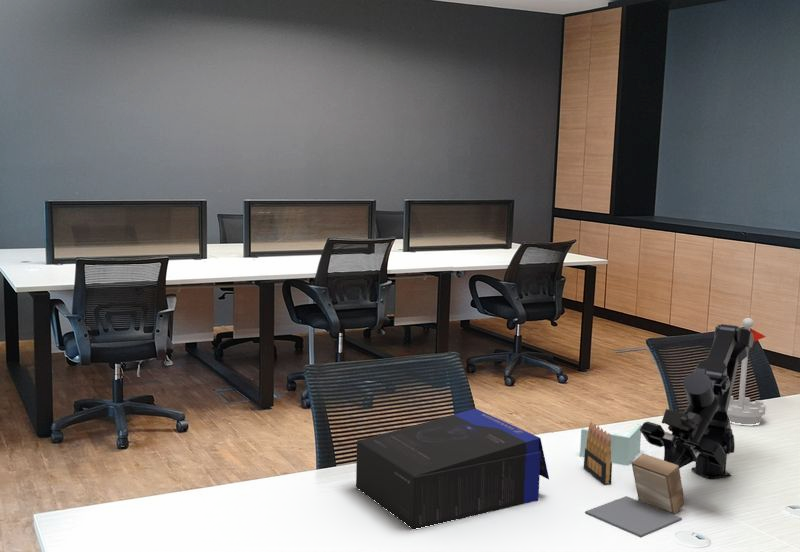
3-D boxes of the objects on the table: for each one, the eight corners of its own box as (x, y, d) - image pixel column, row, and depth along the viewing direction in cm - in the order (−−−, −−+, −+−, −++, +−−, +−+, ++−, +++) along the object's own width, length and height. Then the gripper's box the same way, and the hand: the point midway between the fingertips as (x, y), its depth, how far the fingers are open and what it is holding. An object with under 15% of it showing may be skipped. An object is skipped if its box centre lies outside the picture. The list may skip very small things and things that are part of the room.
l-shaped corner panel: (639, 453, 220) (641, 424, 219) (627, 467, 210) (629, 437, 209) (593, 444, 226) (595, 416, 225) (579, 458, 215) (581, 429, 214)
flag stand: (720, 425, 243) (729, 321, 239) (711, 411, 256) (719, 312, 251) (769, 428, 241) (778, 323, 237) (758, 415, 254) (766, 315, 249)
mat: (626, 497, 190) (626, 496, 190) (681, 519, 179) (681, 517, 179) (585, 513, 181) (585, 511, 181) (640, 537, 170) (640, 535, 170)
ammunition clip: (611, 484, 197) (614, 434, 196) (604, 485, 197) (607, 434, 195) (590, 467, 208) (593, 419, 206) (583, 468, 207) (585, 420, 205)
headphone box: (549, 498, 189) (552, 435, 187) (413, 531, 171) (415, 462, 169) (482, 462, 210) (485, 406, 208) (355, 488, 192) (356, 426, 190)
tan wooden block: (649, 490, 191) (642, 453, 187) (685, 504, 184) (678, 465, 180) (637, 501, 188) (630, 463, 185) (673, 515, 181) (666, 476, 178)
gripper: (647, 386, 193) (613, 442, 188) (723, 406, 179) (689, 467, 173) (665, 414, 199) (633, 469, 194) (740, 436, 185) (708, 496, 179)
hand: (664, 475), depth 185 cm, fingers closed
